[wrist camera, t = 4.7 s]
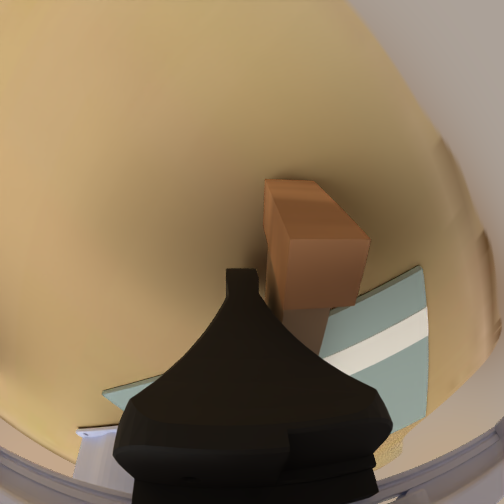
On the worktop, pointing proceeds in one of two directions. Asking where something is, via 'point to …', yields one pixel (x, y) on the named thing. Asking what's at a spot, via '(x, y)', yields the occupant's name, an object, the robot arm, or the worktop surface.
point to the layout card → (370, 347)
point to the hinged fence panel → (310, 257)
